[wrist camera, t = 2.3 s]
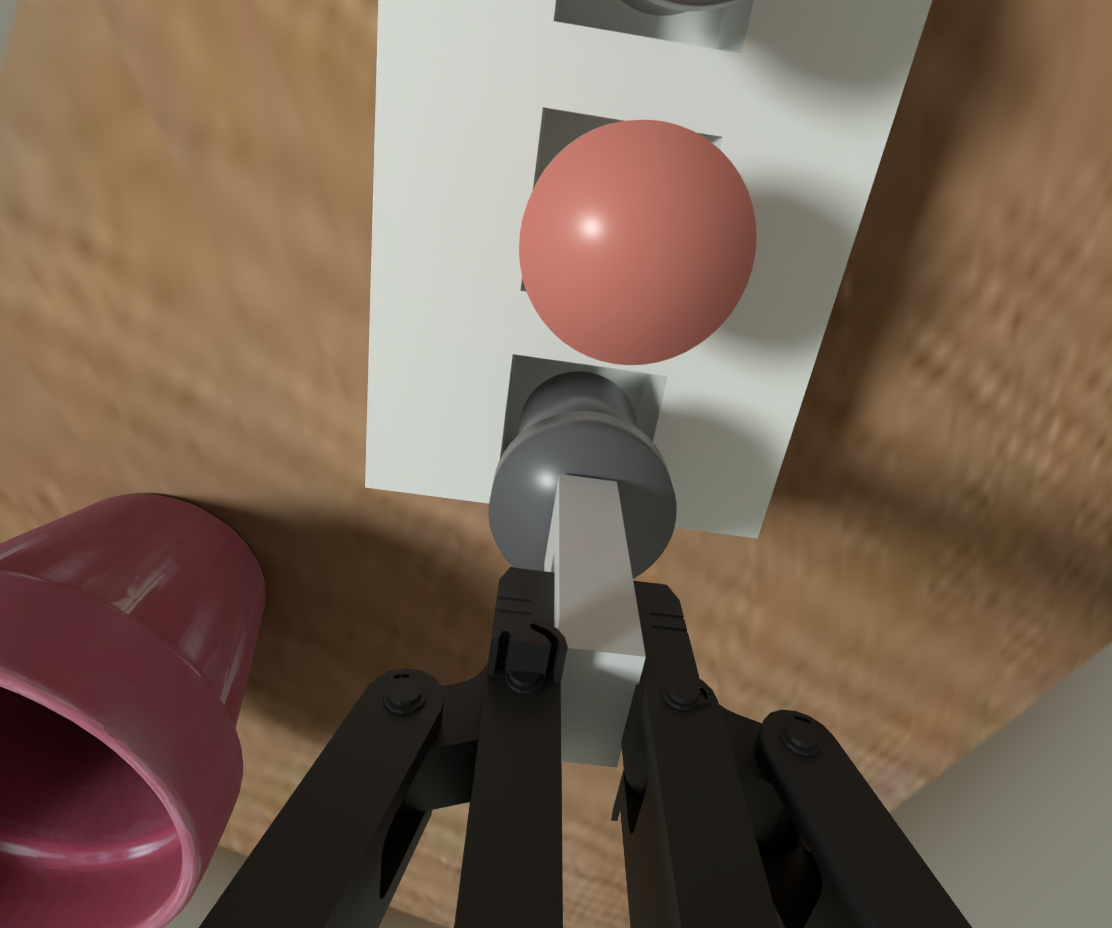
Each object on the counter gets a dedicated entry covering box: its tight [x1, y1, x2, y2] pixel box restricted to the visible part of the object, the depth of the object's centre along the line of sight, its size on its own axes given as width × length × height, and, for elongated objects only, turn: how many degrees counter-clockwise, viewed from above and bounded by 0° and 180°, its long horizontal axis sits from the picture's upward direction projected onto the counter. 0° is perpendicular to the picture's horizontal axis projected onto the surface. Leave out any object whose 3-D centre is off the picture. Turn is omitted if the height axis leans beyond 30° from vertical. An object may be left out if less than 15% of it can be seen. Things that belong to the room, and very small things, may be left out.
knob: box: [489, 371, 677, 579], centre depth 21 cm, size 5×5×6 cm
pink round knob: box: [519, 120, 757, 365], centre depth 17 cm, size 5×5×6 cm
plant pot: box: [0, 494, 266, 928], centre depth 26 cm, size 14×14×13 cm
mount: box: [365, 0, 932, 538], centre depth 22 cm, size 14×20×5 cm
